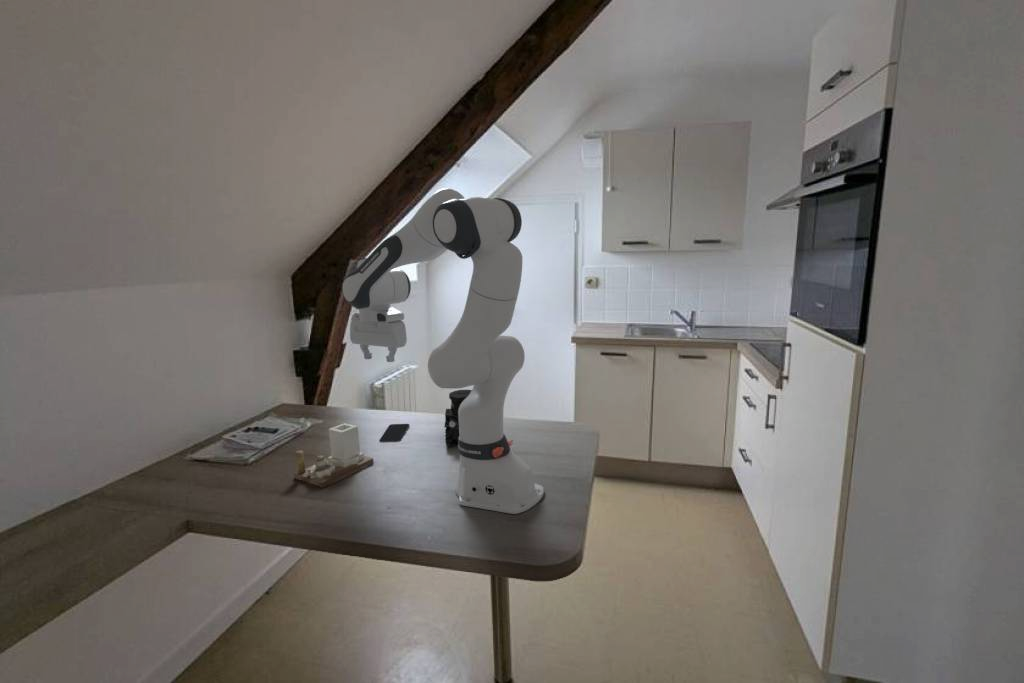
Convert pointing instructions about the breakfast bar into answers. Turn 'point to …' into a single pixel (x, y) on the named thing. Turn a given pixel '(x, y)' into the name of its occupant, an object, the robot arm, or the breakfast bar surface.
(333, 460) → the white square socket
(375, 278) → the robot arm
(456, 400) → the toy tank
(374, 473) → the breakfast bar surface
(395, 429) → the smartphone
